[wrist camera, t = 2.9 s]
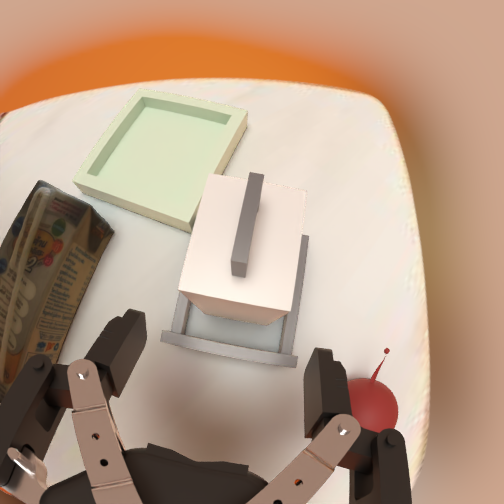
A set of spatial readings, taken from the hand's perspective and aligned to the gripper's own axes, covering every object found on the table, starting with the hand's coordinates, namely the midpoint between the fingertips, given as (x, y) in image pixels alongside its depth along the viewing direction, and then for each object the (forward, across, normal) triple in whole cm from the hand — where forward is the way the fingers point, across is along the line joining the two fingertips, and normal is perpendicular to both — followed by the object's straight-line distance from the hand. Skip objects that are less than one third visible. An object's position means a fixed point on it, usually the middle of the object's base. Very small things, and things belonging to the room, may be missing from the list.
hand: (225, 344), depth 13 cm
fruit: (+5, -11, +9) cm, 15 cm away
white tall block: (+10, 0, +4) cm, 11 cm away
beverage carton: (+7, +18, +8) cm, 21 cm away
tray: (+18, +10, -4) cm, 21 cm away
